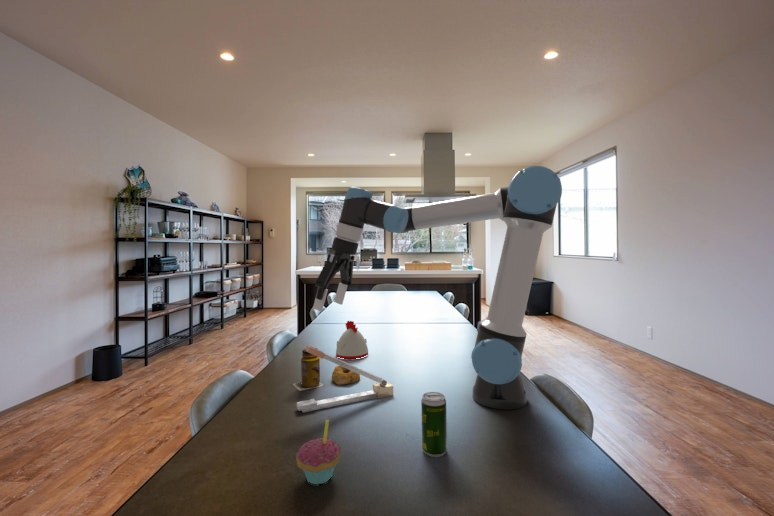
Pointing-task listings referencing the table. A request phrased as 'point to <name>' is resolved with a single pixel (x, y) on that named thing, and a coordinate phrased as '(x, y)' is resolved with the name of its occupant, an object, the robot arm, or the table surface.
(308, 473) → the cupcake
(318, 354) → the bar
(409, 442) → the table surface
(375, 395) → the base
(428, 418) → the beer can
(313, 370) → the condiment
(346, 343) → the kitchen timer
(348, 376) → the bagel
